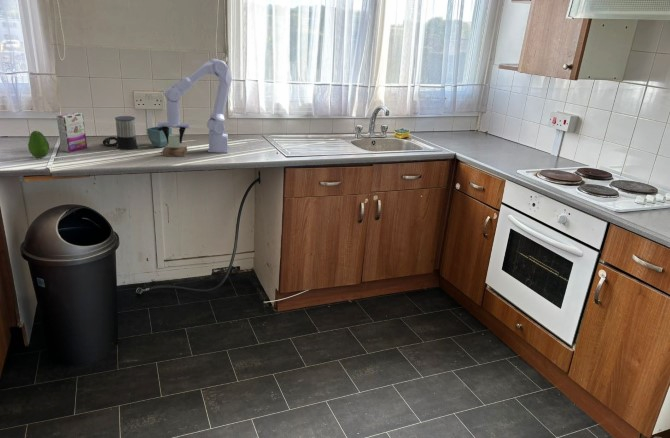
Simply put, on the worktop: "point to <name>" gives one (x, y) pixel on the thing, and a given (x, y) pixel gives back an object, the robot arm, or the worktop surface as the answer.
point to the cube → (174, 141)
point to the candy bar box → (72, 132)
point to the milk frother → (124, 133)
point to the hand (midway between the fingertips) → (174, 142)
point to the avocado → (38, 144)
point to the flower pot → (158, 136)
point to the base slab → (175, 151)
